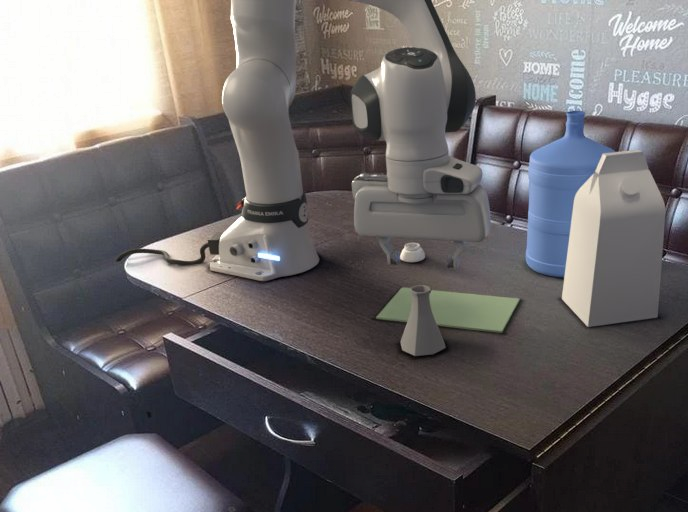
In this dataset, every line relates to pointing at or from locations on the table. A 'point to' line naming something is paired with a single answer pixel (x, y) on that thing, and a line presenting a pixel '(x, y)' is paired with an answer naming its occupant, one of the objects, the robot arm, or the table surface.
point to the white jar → (412, 253)
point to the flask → (421, 325)
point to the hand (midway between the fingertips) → (423, 265)
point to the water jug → (558, 194)
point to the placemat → (456, 310)
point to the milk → (616, 243)
